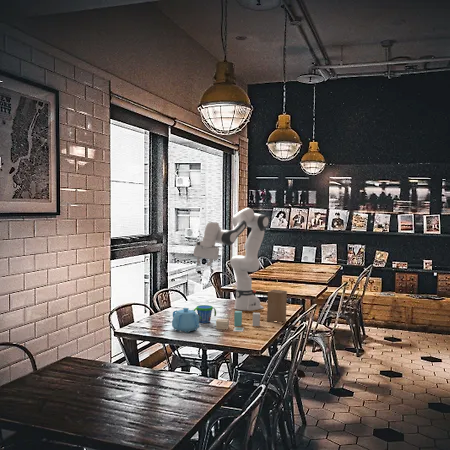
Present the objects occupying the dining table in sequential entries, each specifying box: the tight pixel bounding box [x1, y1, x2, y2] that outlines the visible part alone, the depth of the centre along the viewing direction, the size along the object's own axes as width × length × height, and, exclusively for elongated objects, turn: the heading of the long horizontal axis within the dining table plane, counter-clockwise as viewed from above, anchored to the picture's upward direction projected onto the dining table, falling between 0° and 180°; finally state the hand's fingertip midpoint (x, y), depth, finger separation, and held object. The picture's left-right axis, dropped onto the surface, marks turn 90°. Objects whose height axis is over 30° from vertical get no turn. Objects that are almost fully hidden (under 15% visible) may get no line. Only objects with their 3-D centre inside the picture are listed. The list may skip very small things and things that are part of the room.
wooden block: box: [266, 289, 288, 323], centre depth 337 cm, size 10×10×20 cm
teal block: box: [233, 310, 243, 327], centre depth 322 cm, size 4×4×9 cm
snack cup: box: [193, 304, 217, 324], centre depth 329 cm, size 16×10×10 cm
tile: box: [232, 326, 245, 333], centre depth 311 cm, size 9×6×1 cm, turn 174°
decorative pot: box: [171, 307, 201, 334], centre depth 307 cm, size 16×16×14 cm
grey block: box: [252, 312, 261, 326], centre depth 323 cm, size 4×4×8 cm
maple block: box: [215, 318, 230, 330], centre depth 315 cm, size 7×7×5 cm
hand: (203, 264), depth 340 cm, fingers open, 8 cm apart
